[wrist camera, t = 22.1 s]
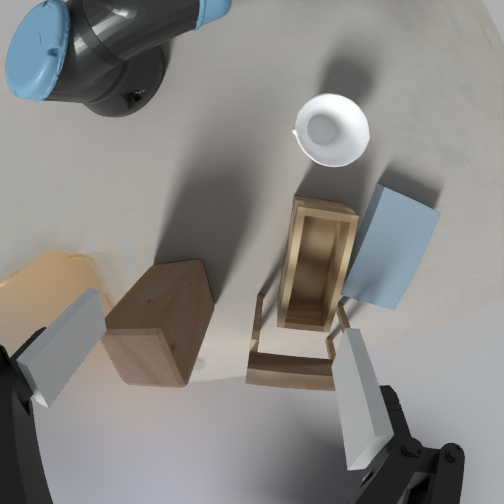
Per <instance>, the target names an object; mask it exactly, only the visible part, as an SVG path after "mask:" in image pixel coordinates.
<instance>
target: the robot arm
mask: <svg viewBox="0 0 504 504" xmlns="http://www.w3.org/2000/svg"><path fill="white" fill-rule="evenodd" d="M230 7H231V0H68V1H67V2H64V1H63V0H50V1H49V0H47V1H44V2H42V3H40V4H39V5H37V6H36V7H34V8H33V9H32V10H31V11H30V12H29V13H28V14H27V15H26V17H25V18H24V19H23V20H22V22H21V23H20V25H19V27H18V28H17V30H16V32H15V34H14V36H13V38H12V41H11V43H10V47H9V49H8V53H7V57H6V64H5V75H6V82H7V85H8V87H9V89H10V91H11V92H12V93H13V94H14V95H15V96H17V97H19V98H22V99H30V100H33V101H35V102H39V101H62V102H75V103H83V104H84V105H85V106H86V107H88V108H89V109H90V110H91V111H93V112H94V113H96V114H98V115H101V116H106V117H123V116H127V115H130V114H132V113H134V112H136V111H138V110H139V109H141V108H142V107H143V106H144V105H146V104H147V103H148V102H149V101H150V100H151V98H152V97H153V96H154V94H155V93H156V91H157V90H158V88H159V86H160V84H161V81H162V78H163V75H164V68H165V61H164V55H163V52H162V50H161V48H160V46H159V44H161V43H163V42H165V41H168V40H170V39H172V38H174V37H176V36H179V35H181V34H183V33H185V32H188V31H190V30H194V31H195V30H197V29H199V28H200V27H201V26H203V25H205V24H207V23H210V22H212V21H215V20H217V19H220V18H222V17H223V16H225V15H226V14H227V13H228V11H229V10H230ZM106 331H107V329H106V324H105V319H104V313H103V308H102V302H101V296H100V290H95V289H91V288H89V289H87V290H86V291H85V292H84V293H83V294H82V295H81V296H80V297H79V298H77V299H76V300H75V301H74V302H73V303H72V304H71V305H70V306H69V307H68V308H67V309H66V310H65V311H64V312H63V313H62V314H61V315H59V317H57V318H56V320H54V321H53V322H52V324H50V325H49V326H48V327H47V328H46V327H43V328H41V329H39V330H38V331H36V332H35V333H34V334H33V335H32V336H31V337H30V338H29V339H28V340H27V341H26V343H24V344H23V345H22V346H21V347H20V348H19V349H18V350H17V351H16V352H15V353H14V354H13V355H12V356H11V358H9V356H8V354H7V351H6V349H5V348H4V346H2V345H0V504H53V501H52V498H51V495H50V492H49V488H48V485H47V481H46V478H45V474H44V470H43V466H42V462H41V457H40V452H39V446H38V441H37V435H36V429H35V422H34V414H33V406H32V401H31V399H30V398H31V396H32V395H34V396H35V398H36V400H37V402H38V403H40V404H42V405H44V406H46V407H48V408H49V407H50V406H51V404H52V403H53V402H54V400H55V399H56V397H57V396H58V394H59V393H60V392H61V390H62V389H63V388H64V386H65V385H66V383H67V382H68V381H69V379H70V378H71V376H72V375H73V374H74V372H75V371H76V370H77V368H78V367H79V366H80V364H81V363H82V362H83V360H84V359H85V358H86V356H87V355H88V354H89V352H90V351H91V350H92V348H93V347H94V346H95V345H96V343H97V342H98V341H99V339H100V338H101V337H102V336H103V334H104V333H105V332H106ZM331 368H332V373H333V379H334V384H335V390H336V395H337V401H338V407H339V413H340V419H341V425H342V432H343V438H344V445H345V452H346V460H347V467H348V470H355V469H365V468H366V467H367V466H368V465H369V464H370V463H371V468H372V470H371V471H370V472H369V473H368V474H367V476H365V477H364V478H363V482H362V483H361V484H360V486H359V487H358V488H357V490H356V491H355V492H354V493H353V495H352V496H351V497H350V498H349V500H348V501H347V502H346V503H345V504H397V502H398V500H399V499H400V497H401V496H402V494H403V492H404V491H405V489H406V492H405V496H404V499H403V503H402V504H459V503H460V496H461V489H462V482H463V472H464V461H465V456H464V451H463V449H462V448H461V447H460V446H459V445H457V444H455V443H448V444H445V445H444V446H443V447H442V448H441V449H432V448H426V447H423V446H422V445H421V443H420V442H419V441H418V440H417V439H415V438H412V437H411V434H410V431H409V428H408V425H407V422H406V419H405V416H404V413H403V411H402V408H401V405H400V404H399V399H398V397H397V394H396V392H395V391H394V390H393V389H392V388H391V387H390V385H386V386H379V384H378V381H377V378H376V375H375V372H374V369H373V367H372V363H371V361H370V358H369V355H368V352H367V349H366V346H365V344H364V341H363V338H362V336H361V333H360V330H359V329H352V328H345V330H344V333H343V336H342V339H341V342H340V345H339V348H338V350H337V353H336V356H335V359H334V361H333V364H332V367H331Z"/></svg>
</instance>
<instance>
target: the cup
mask: <svg viewBox="0 0 504 504" xmlns="http://www.w3.org/2000/svg"><path fill="white" fill-rule="evenodd" d="M292 132H293V133H294V134H295V136H296V138H297V141H298V143H299V145H300V147H301V148H302V150H303V151H304V153H305V154H307V155H308V156H309V157H310V158H311V159H312V160H313V161H315V162H317V163H319V164H321V165H325V166H330V167H341V166H346V165H348V164H350V163H352V162H353V161H355V160H356V159H357V158H359V157H360V156H361V155H362V153H363V152H364V150H365V149H366V147H367V144H368V142H369V139H370V132H369V126H368V121H367V118H366V116H365V114H364V112H363V111H362V110H361V108H360V107H359V106H358V105H357V104H356V103H355V102H354V101H352V100H351V99H349V98H347V97H345V96H342V95H340V94H334V93H322V94H318V95H315V96H313V97H312V98H310V99H309V100H307V101H306V102H305V103H304V104H303V105H302V107H301V109H300V110H299V112H298V113H297V117H296V121H295V124H294V128H293V129H292Z"/></svg>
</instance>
